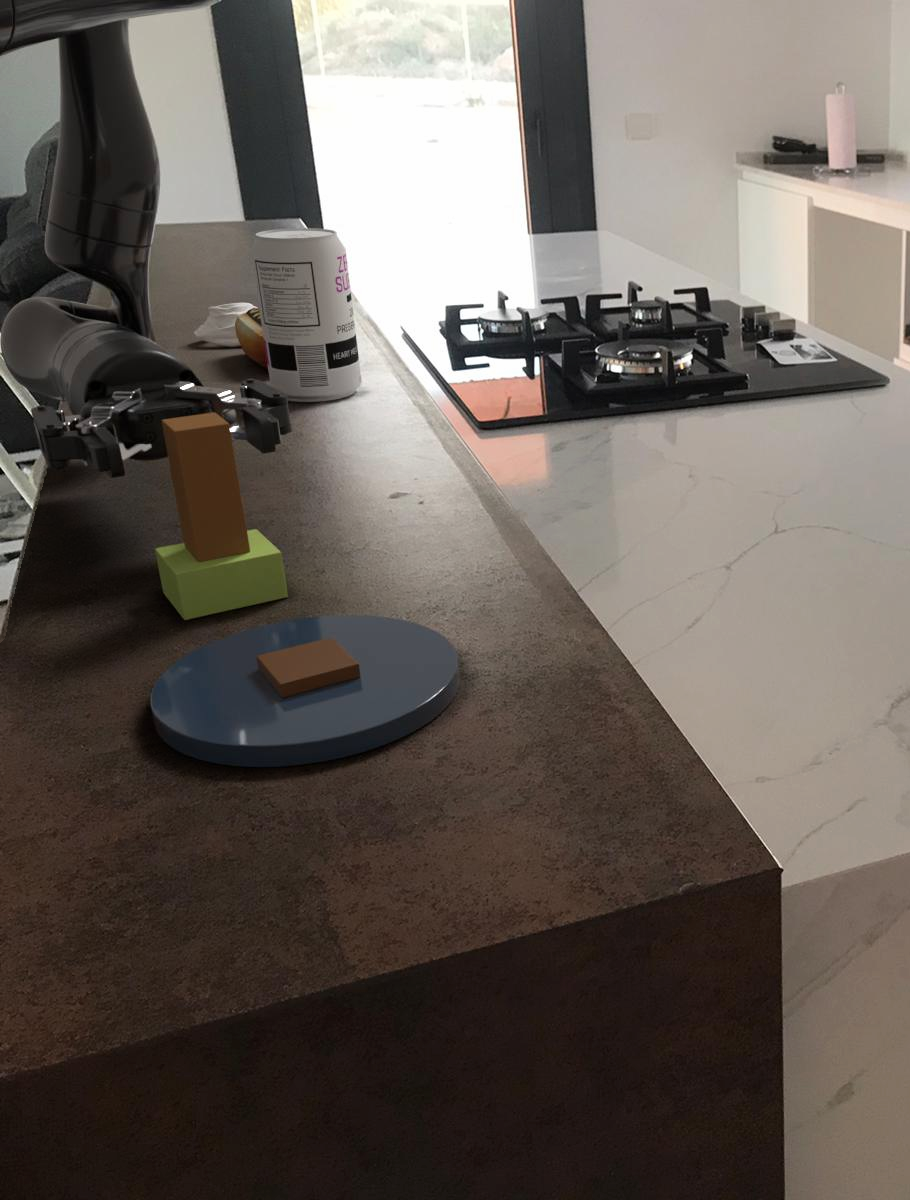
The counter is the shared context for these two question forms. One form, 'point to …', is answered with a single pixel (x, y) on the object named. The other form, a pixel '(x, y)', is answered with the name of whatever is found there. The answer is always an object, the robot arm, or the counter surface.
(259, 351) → the golden brown half oval
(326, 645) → the food crust
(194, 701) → the plate
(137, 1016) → the counter surface
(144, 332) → the robot arm
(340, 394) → the supplement can
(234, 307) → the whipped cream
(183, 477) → the sponge brush
